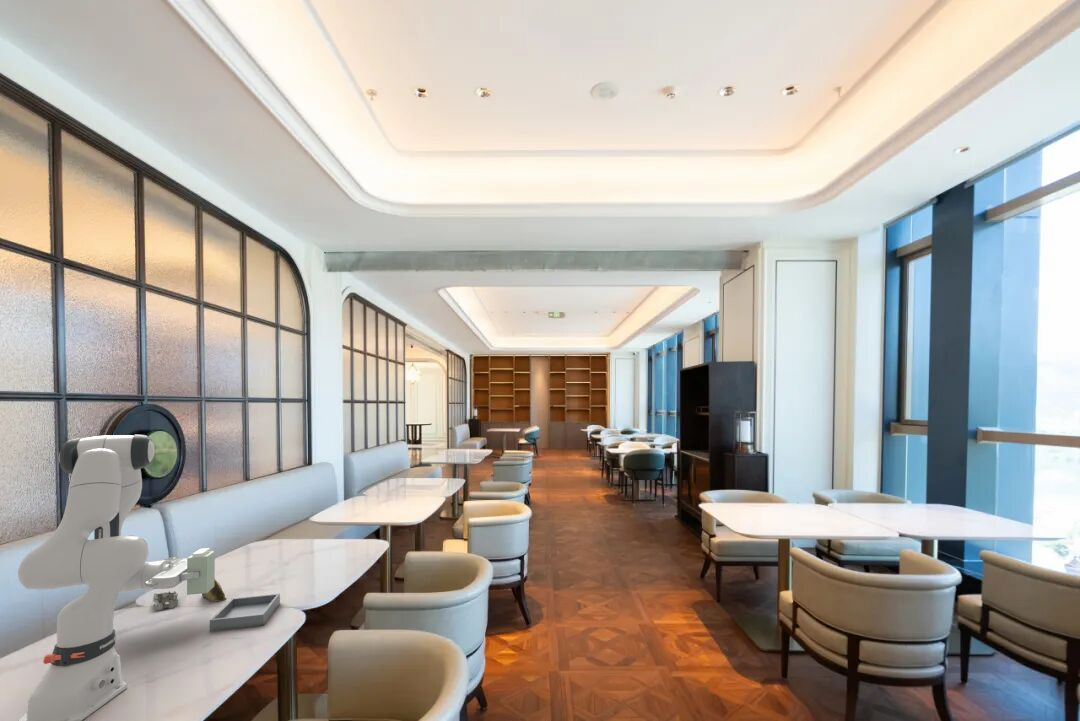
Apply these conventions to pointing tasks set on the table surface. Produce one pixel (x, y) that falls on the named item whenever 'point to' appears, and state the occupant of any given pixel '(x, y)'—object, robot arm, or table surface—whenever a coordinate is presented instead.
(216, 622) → the tray
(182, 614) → the table surface
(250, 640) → the table surface
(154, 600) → the grey carved figurine
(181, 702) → the table surface
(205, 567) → the juice carton
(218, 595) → the rock
